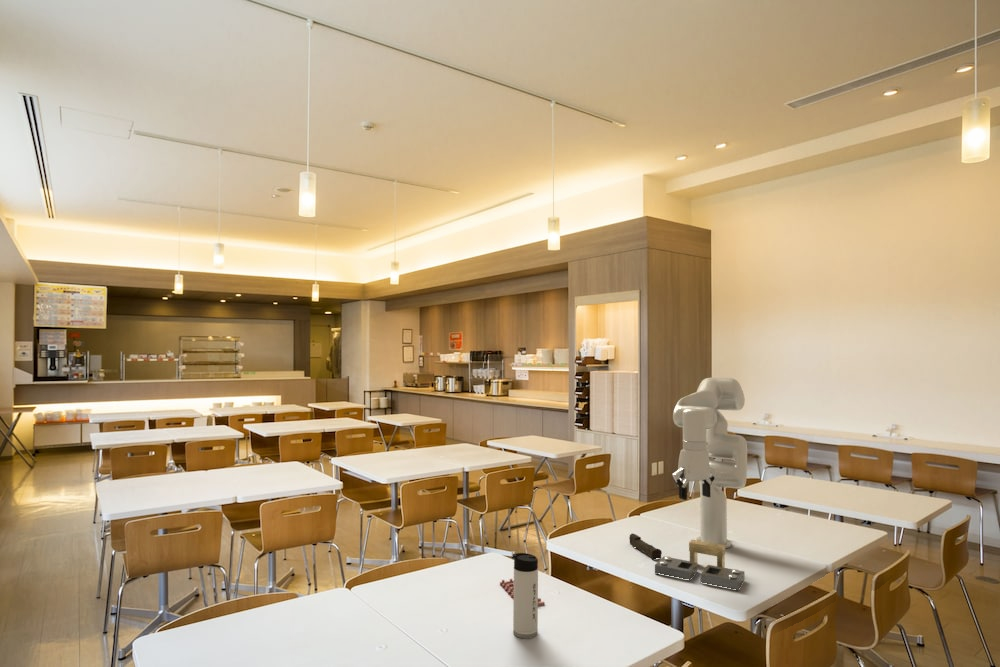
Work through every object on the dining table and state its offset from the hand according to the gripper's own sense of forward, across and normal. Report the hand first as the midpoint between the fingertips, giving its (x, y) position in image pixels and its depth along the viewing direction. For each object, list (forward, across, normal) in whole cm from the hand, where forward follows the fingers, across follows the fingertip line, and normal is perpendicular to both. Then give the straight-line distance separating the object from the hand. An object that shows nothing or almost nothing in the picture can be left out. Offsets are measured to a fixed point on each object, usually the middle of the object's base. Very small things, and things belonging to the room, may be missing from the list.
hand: (694, 497), depth 196 cm
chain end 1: (+25, +5, -3) cm, 26 cm away
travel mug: (+25, +70, +18) cm, 77 cm away
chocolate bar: (+25, +61, -5) cm, 66 cm away
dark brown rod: (+26, +3, -25) cm, 36 cm away
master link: (+25, -8, -3) cm, 26 cm away
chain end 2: (+25, -3, +9) cm, 27 cm away
